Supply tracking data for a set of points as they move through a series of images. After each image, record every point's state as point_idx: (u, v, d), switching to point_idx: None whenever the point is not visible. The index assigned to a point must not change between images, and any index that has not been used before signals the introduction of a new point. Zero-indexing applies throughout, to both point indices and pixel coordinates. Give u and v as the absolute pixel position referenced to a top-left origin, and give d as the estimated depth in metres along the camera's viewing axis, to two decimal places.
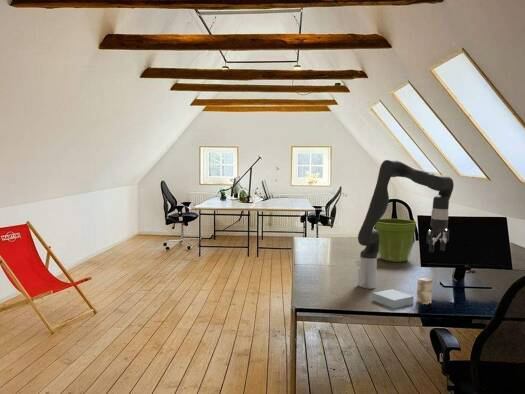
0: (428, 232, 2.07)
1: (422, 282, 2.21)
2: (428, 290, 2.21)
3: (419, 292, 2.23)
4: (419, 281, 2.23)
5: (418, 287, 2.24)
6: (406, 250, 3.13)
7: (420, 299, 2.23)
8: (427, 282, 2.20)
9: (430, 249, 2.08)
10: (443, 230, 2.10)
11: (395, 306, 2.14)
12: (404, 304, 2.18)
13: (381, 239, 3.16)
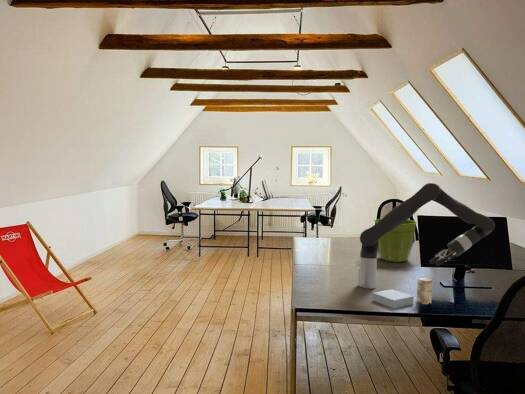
0: (454, 252, 2.14)
1: (422, 282, 2.21)
2: (428, 290, 2.21)
3: (419, 292, 2.23)
4: (419, 281, 2.23)
5: (418, 287, 2.24)
6: (406, 250, 3.13)
7: (420, 299, 2.23)
8: (427, 282, 2.20)
9: (440, 263, 2.15)
10: None
11: (395, 306, 2.14)
12: (404, 304, 2.18)
13: (381, 239, 3.16)
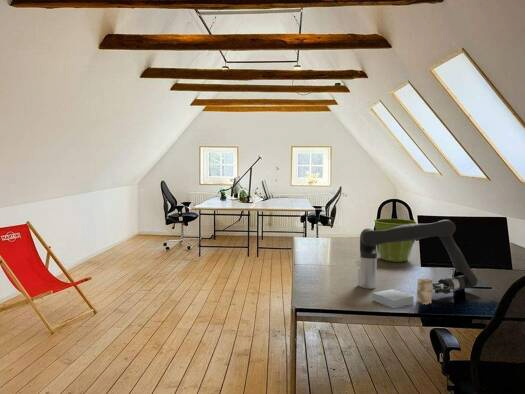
0: (451, 289, 2.24)
1: (422, 282, 2.21)
2: (428, 290, 2.21)
3: (419, 292, 2.23)
4: (419, 281, 2.23)
5: (418, 287, 2.24)
6: (406, 250, 3.13)
7: (420, 299, 2.23)
8: (427, 282, 2.20)
9: (438, 291, 2.21)
10: None
11: (395, 306, 2.14)
12: (404, 304, 2.18)
13: None
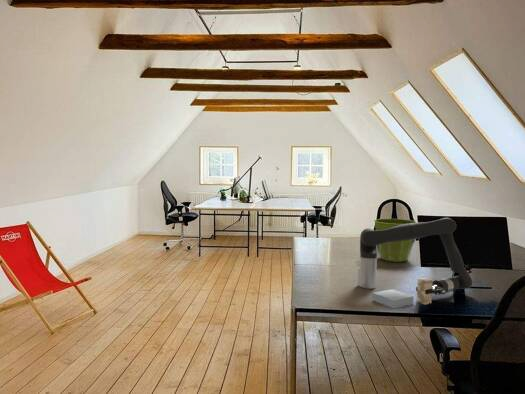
0: (444, 290, 2.21)
1: (422, 282, 2.21)
2: None
3: (419, 292, 2.23)
4: (419, 281, 2.23)
5: (418, 287, 2.24)
6: (406, 250, 3.13)
7: (420, 299, 2.23)
8: (427, 282, 2.20)
9: (428, 292, 2.20)
10: None
11: (395, 306, 2.14)
12: (404, 304, 2.18)
13: None
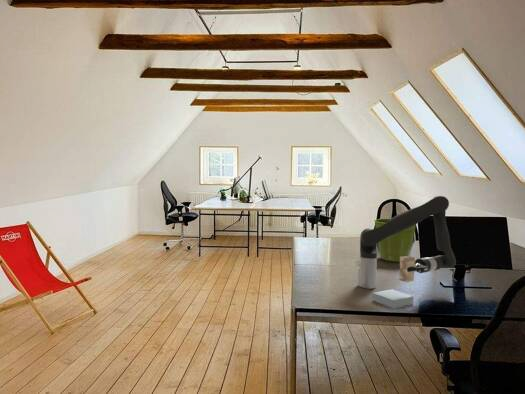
0: (426, 268, 2.20)
1: (404, 260, 2.20)
2: None
3: (402, 270, 2.22)
4: (401, 259, 2.22)
5: (400, 265, 2.23)
6: (406, 250, 3.13)
7: (402, 277, 2.22)
8: (409, 260, 2.19)
9: (410, 269, 2.19)
10: None
11: (395, 306, 2.14)
12: (404, 304, 2.18)
13: None
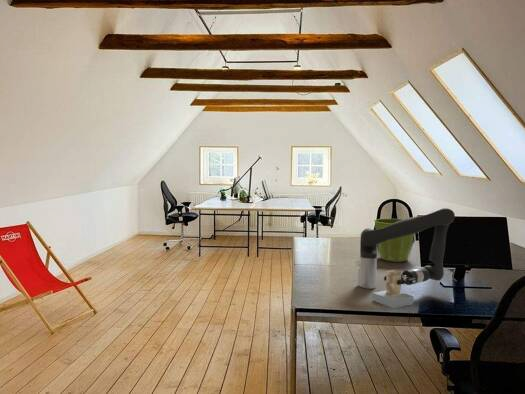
0: (414, 280, 2.21)
1: (391, 274, 2.21)
2: (396, 282, 2.20)
3: (388, 284, 2.22)
4: (388, 273, 2.22)
5: (387, 279, 2.23)
6: (406, 250, 3.13)
7: (389, 291, 2.22)
8: (396, 274, 2.20)
9: (400, 282, 2.18)
10: None
11: (395, 306, 2.14)
12: (404, 304, 2.18)
13: None
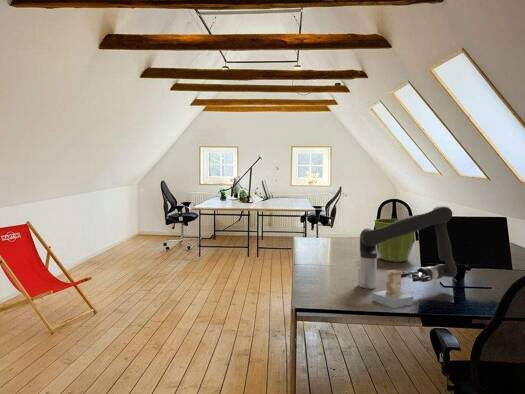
0: (429, 277, 2.27)
1: (391, 274, 2.21)
2: (396, 282, 2.20)
3: (388, 284, 2.22)
4: (388, 273, 2.22)
5: (387, 279, 2.23)
6: (406, 250, 3.13)
7: (389, 291, 2.22)
8: (396, 274, 2.20)
9: None
10: None
11: (395, 306, 2.14)
12: (404, 304, 2.18)
13: None
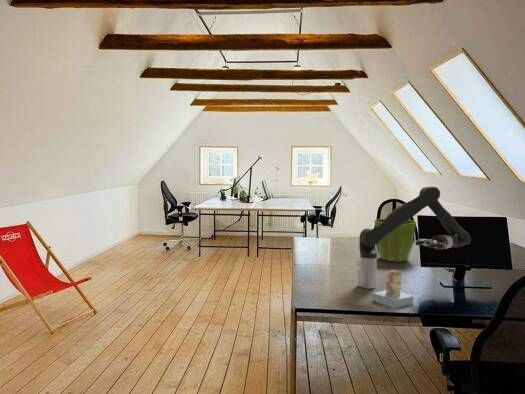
0: (445, 244, 2.31)
1: (391, 274, 2.21)
2: (396, 282, 2.20)
3: (388, 284, 2.22)
4: (388, 273, 2.22)
5: (387, 279, 2.23)
6: (406, 250, 3.13)
7: (389, 291, 2.22)
8: (396, 274, 2.20)
9: None
10: None
11: (395, 306, 2.14)
12: (404, 304, 2.18)
13: None
